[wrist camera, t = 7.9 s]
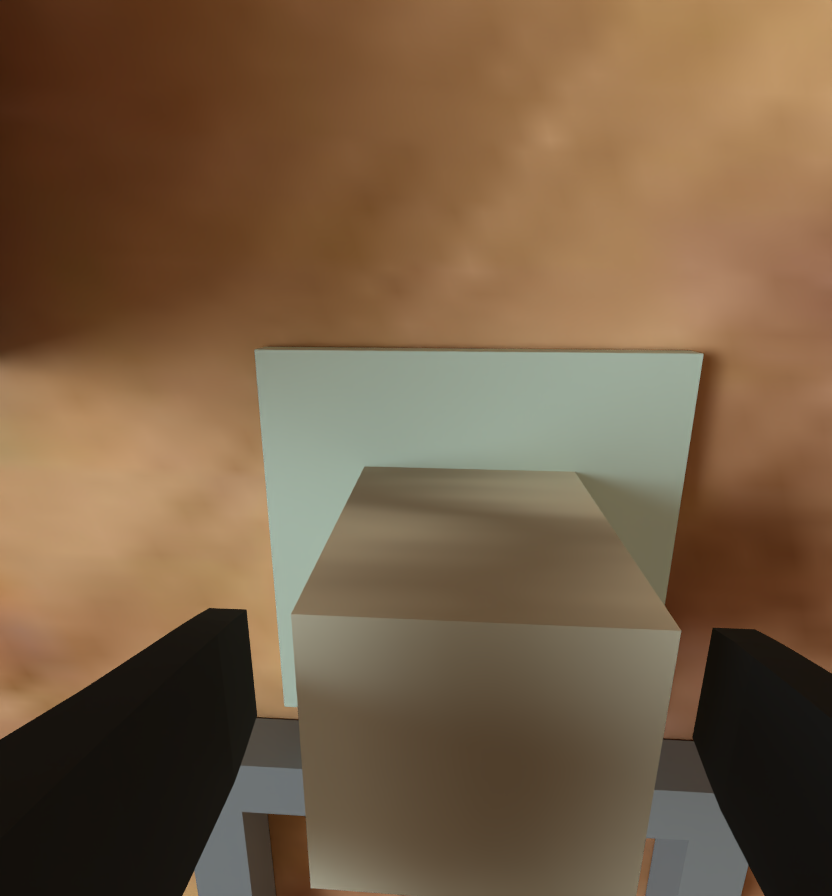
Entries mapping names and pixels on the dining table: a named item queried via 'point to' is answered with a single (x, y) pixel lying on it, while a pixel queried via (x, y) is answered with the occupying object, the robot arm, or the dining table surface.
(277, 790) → the frame
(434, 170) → the dining table surface
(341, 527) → the maple block
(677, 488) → the green pad
